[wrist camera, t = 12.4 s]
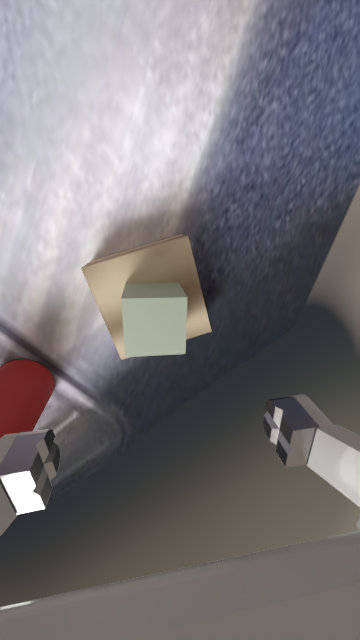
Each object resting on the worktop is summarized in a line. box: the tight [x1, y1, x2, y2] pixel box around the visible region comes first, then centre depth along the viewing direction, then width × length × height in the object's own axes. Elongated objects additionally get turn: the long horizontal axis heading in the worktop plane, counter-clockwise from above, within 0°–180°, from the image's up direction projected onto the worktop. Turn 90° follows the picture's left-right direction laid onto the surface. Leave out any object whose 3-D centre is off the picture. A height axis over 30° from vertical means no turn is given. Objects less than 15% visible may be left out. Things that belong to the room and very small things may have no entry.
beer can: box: [0, 359, 55, 438], centre depth 24 cm, size 7×7×12 cm
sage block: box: [121, 282, 188, 357], centre depth 21 cm, size 5×5×5 cm
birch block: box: [81, 234, 212, 360], centre depth 26 cm, size 10×10×5 cm
